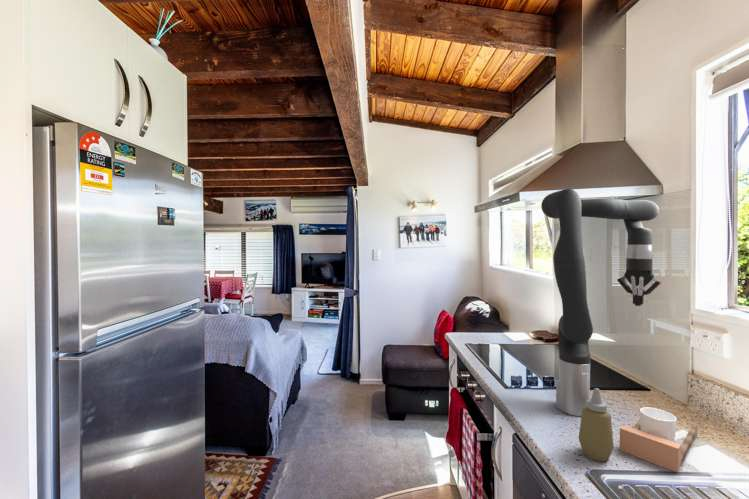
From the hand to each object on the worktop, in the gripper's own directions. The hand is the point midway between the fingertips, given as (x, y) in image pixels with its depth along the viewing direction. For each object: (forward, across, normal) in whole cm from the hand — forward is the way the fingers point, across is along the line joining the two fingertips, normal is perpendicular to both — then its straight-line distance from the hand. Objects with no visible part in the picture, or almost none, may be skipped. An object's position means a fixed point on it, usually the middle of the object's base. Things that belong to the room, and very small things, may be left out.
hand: (638, 305), depth 125 cm
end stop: (+35, +12, -38) cm, 53 cm away
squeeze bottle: (+35, +2, -47) cm, 59 cm away
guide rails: (+35, +12, -24) cm, 44 cm away
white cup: (+35, +12, -31) cm, 48 cm away
